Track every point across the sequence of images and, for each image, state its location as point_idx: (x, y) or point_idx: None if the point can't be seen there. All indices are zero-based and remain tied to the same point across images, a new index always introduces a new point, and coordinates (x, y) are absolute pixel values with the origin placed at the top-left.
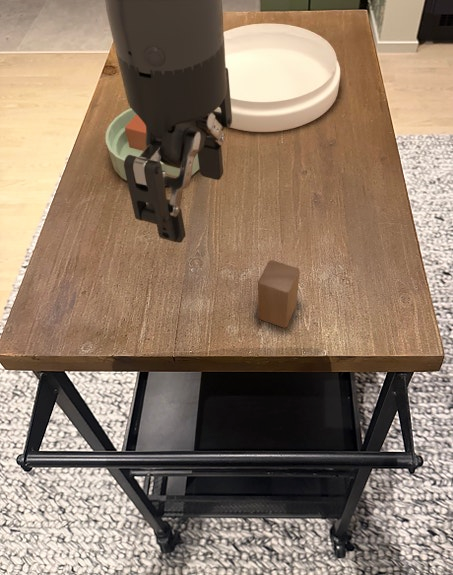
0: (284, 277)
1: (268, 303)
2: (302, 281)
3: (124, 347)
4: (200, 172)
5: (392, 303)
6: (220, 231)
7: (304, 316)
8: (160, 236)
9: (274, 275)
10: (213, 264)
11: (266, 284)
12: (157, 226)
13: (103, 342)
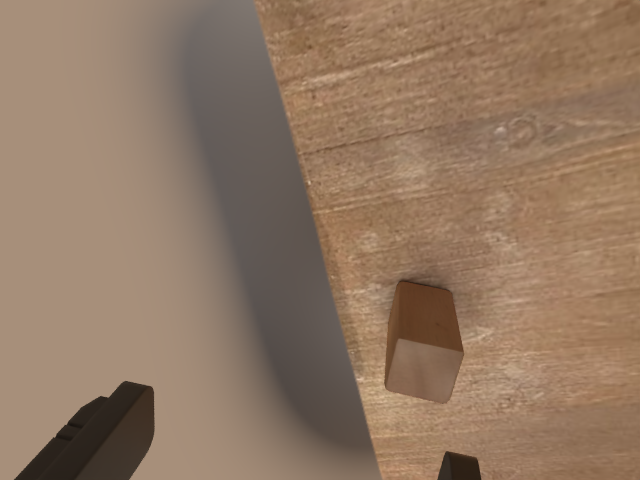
0: (419, 382)
1: (392, 328)
2: (496, 339)
3: (284, 55)
4: (447, 458)
5: None
6: (628, 162)
7: None
8: (83, 409)
9: (420, 365)
10: (521, 171)
11: (396, 353)
12: (49, 443)
13: (283, 4)
